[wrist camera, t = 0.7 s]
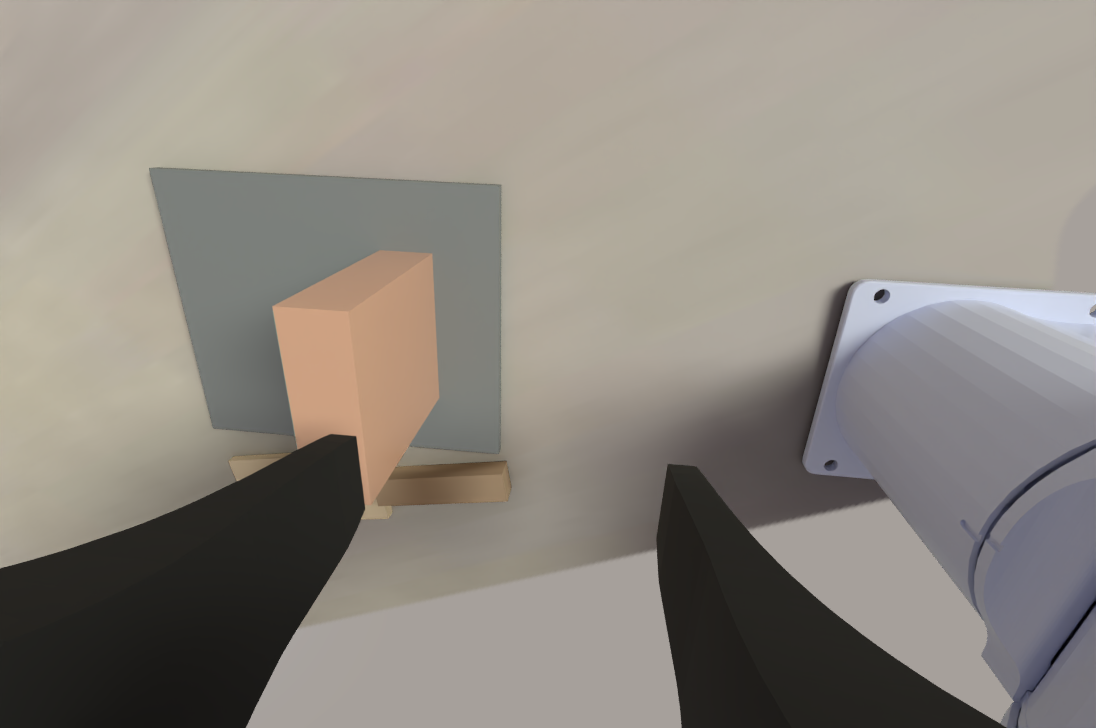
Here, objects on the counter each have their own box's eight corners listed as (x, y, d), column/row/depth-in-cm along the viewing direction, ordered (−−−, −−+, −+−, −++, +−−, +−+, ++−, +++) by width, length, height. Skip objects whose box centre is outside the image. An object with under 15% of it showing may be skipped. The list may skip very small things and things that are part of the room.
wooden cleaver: (502, 439, 23) (497, 452, 22) (515, 507, 24) (511, 521, 24) (235, 455, 25) (220, 467, 24) (260, 516, 27) (248, 530, 26)
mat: (501, 185, 19) (499, 186, 19) (500, 449, 23) (498, 454, 23) (157, 167, 20) (148, 168, 20) (219, 423, 24) (213, 428, 24)
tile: (432, 253, 20) (348, 311, 13) (439, 397, 22) (371, 505, 16) (375, 250, 20) (267, 305, 14) (389, 393, 22) (301, 498, 16)
